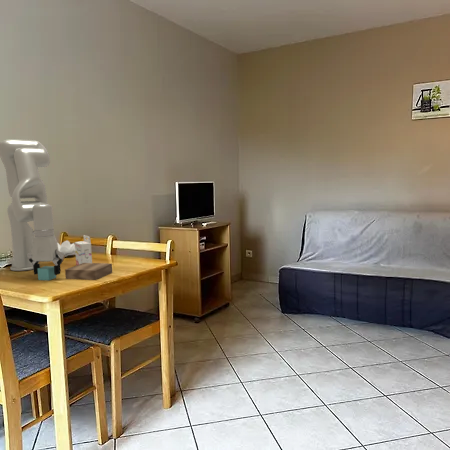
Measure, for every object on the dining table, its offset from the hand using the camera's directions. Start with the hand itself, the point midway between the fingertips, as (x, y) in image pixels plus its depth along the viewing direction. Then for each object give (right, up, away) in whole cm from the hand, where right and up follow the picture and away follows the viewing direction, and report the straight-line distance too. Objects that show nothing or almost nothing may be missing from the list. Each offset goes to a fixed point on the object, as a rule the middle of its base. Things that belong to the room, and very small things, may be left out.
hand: (47, 274), depth 173 cm
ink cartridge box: (+7, 0, +24) cm, 25 cm away
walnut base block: (+16, -1, +5) cm, 17 cm away
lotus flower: (-13, +3, +53) cm, 54 cm away
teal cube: (0, -2, +1) cm, 2 cm away
